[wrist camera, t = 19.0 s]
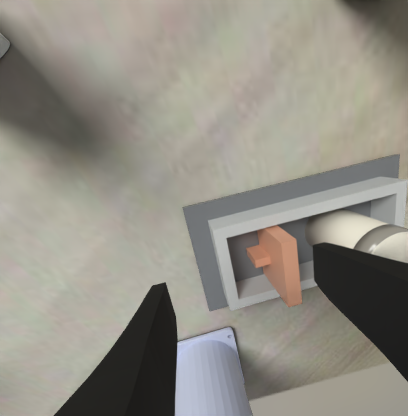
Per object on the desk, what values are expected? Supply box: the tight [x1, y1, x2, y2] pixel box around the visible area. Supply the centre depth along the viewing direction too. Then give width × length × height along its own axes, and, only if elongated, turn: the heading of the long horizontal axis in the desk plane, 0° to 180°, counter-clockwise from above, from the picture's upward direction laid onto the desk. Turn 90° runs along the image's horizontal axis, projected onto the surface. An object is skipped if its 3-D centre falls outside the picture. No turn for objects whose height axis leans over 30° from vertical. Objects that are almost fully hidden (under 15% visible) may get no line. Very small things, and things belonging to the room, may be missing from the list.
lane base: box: [183, 154, 408, 311], centre depth 20 cm, size 12×22×3 cm, turn 102°
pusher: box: [246, 225, 302, 307], centre depth 18 cm, size 6×3×5 cm, turn 12°
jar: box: [305, 208, 408, 263], centre depth 18 cm, size 5×5×7 cm
